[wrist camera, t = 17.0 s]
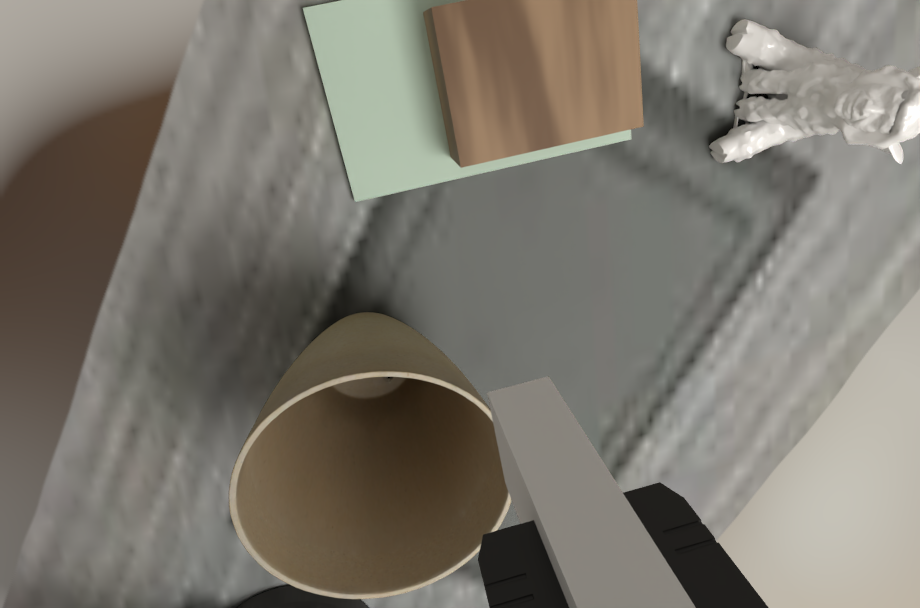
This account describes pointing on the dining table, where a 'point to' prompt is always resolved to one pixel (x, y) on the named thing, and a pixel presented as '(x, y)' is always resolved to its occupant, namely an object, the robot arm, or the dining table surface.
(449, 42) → the walnut slab
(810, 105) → the seated beast figurine
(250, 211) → the dining table surface
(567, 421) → the robot arm
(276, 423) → the plant pot
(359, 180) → the mat
